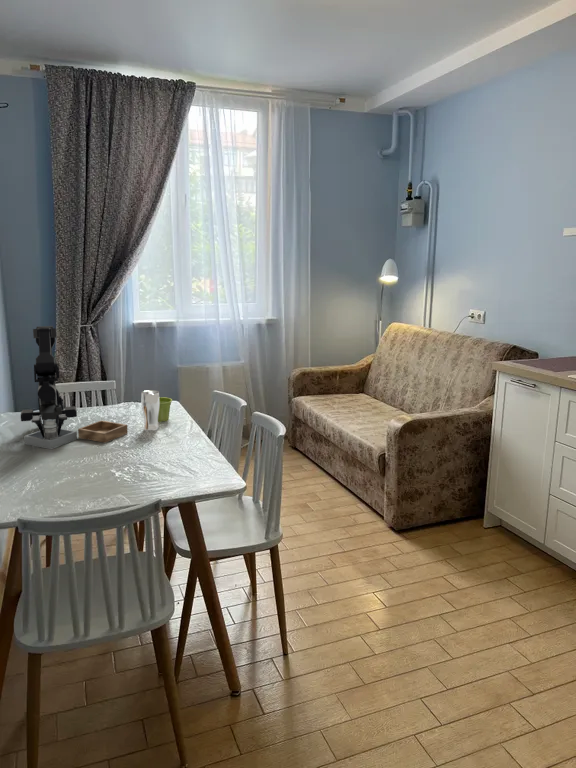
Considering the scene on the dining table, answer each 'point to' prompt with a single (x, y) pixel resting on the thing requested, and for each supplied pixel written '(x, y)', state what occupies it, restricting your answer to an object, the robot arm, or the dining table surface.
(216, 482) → the dining table surface
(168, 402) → the plant pot
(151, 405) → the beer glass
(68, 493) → the dining table surface
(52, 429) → the pill bottle
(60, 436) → the bin
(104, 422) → the walnut bin
